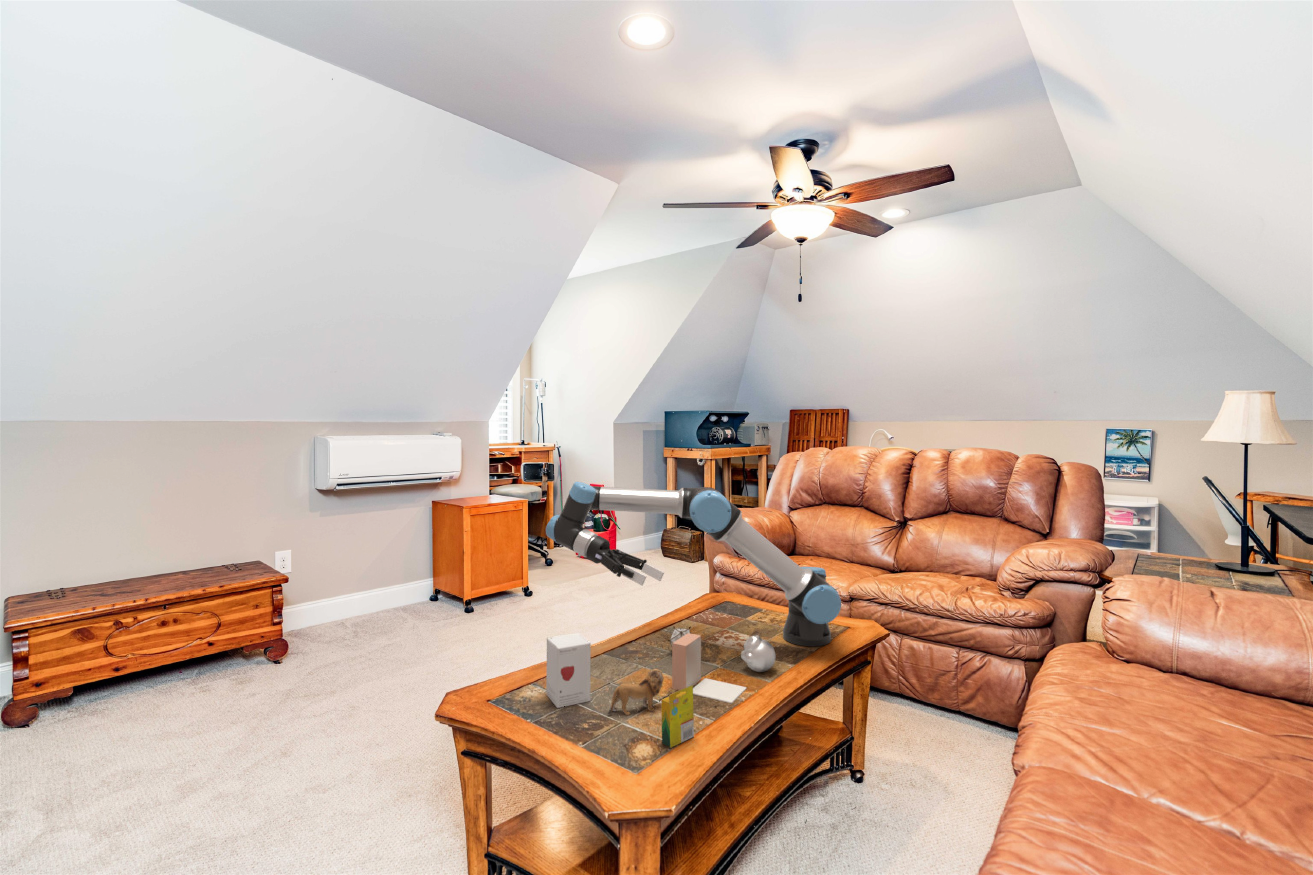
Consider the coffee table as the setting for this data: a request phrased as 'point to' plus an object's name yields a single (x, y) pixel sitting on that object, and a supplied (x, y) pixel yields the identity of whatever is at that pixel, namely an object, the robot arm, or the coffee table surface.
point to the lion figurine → (639, 691)
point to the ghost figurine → (758, 654)
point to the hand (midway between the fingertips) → (653, 578)
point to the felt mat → (718, 690)
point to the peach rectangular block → (686, 661)
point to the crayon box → (677, 717)
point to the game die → (678, 634)
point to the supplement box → (568, 669)
